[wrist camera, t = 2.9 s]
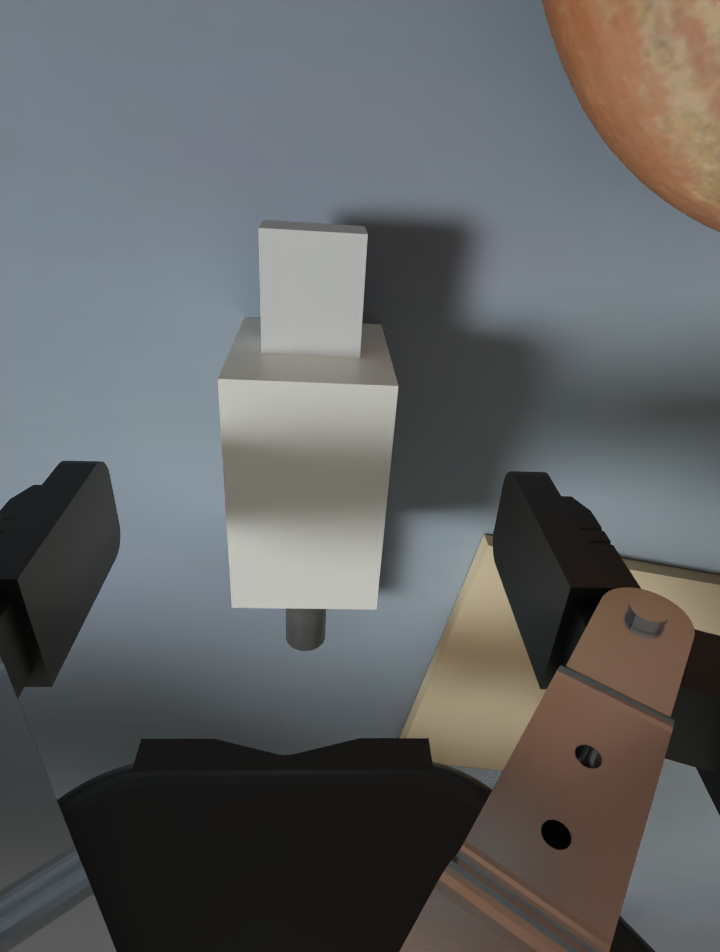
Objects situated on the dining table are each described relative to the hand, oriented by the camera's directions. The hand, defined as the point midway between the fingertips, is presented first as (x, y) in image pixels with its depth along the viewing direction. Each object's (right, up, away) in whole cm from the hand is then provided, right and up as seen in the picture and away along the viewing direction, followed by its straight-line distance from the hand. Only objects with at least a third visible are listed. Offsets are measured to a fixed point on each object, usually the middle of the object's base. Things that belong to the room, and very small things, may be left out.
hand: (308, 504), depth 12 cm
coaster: (+9, -7, +11) cm, 16 cm away
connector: (0, +2, +5) cm, 5 cm away
